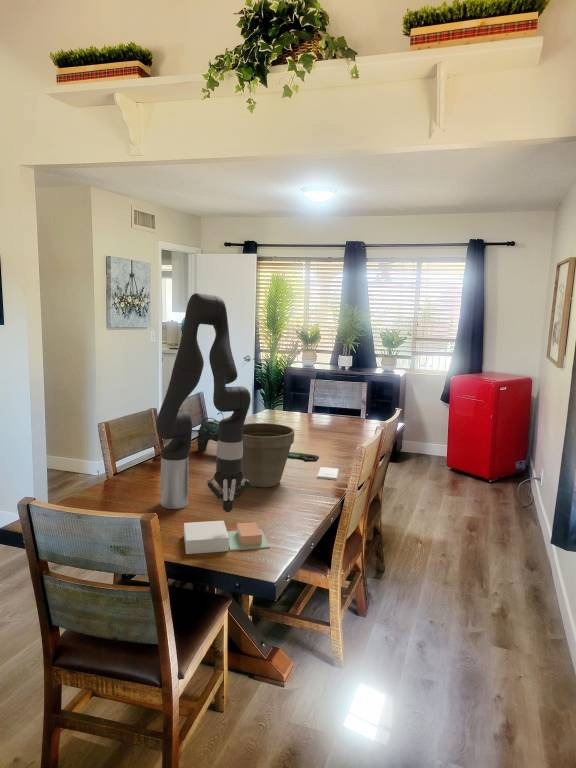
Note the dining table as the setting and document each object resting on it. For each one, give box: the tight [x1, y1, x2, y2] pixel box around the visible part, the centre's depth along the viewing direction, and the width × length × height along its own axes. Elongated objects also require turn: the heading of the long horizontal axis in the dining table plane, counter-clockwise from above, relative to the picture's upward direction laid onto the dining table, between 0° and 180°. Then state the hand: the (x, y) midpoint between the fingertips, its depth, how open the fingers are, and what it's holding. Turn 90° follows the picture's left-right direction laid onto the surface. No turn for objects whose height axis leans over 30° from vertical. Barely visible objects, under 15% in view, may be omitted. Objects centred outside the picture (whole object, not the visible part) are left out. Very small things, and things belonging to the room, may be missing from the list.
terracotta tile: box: [236, 521, 262, 546], centre depth 154 cm, size 9×6×3 cm, turn 14°
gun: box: [287, 451, 320, 462], centre depth 241 cm, size 16×2×10 cm
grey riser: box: [183, 520, 230, 555], centre depth 150 cm, size 12×12×4 cm
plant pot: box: [242, 422, 295, 488], centre depth 204 cm, size 25×25×22 cm
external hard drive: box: [316, 466, 340, 481], centre depth 218 cm, size 2×8×12 cm
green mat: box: [227, 528, 270, 552], centre depth 154 cm, size 12×12×1 cm
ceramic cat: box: [196, 411, 224, 453], centre depth 240 cm, size 20×6×20 cm, turn 62°
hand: (227, 511), depth 151 cm, fingers closed
